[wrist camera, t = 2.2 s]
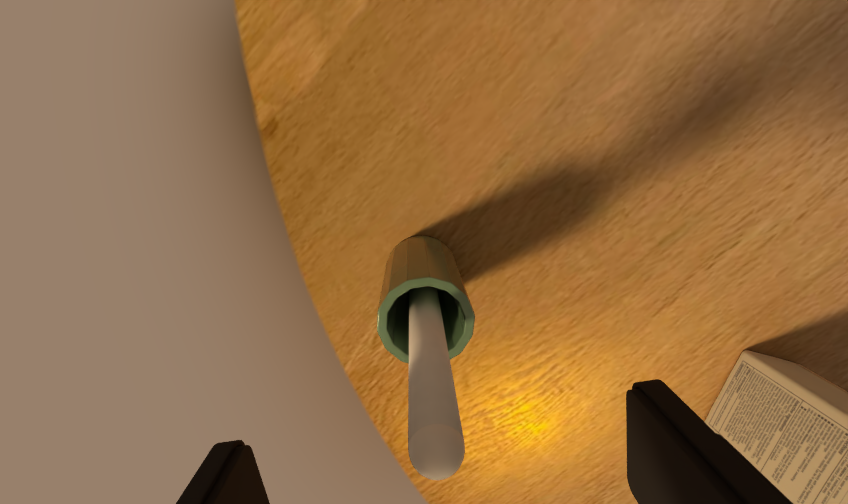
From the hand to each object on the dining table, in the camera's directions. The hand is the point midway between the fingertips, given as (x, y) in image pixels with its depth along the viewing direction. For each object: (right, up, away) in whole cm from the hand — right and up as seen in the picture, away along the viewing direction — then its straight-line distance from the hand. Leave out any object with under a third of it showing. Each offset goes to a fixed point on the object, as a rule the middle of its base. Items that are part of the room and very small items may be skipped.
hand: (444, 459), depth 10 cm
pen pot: (-1, +4, +13) cm, 14 cm away
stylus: (-1, +4, +13) cm, 14 cm away
